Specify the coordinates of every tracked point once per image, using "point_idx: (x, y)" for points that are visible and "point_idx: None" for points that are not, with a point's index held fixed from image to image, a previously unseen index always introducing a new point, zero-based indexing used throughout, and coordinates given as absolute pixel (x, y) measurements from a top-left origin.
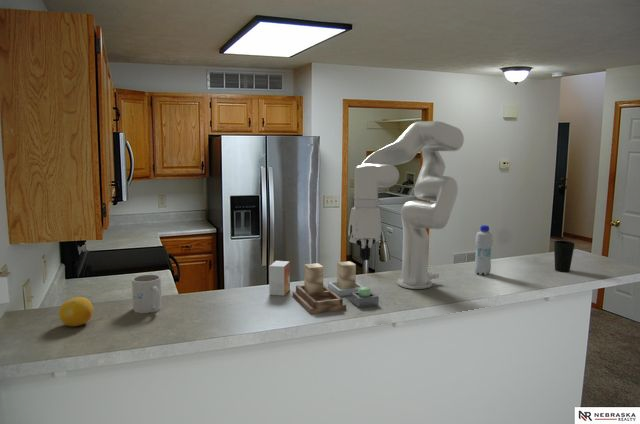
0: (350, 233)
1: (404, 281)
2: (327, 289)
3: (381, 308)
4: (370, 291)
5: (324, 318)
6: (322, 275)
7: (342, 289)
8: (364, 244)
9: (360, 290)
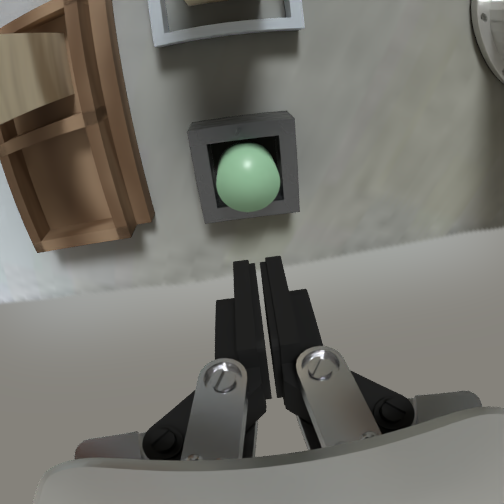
0: (55, 500)
1: (495, 25)
2: (80, 94)
3: (289, 225)
4: (294, 135)
5: (83, 272)
6: (18, 115)
7: (186, 2)
8: (250, 442)
9: (221, 198)
